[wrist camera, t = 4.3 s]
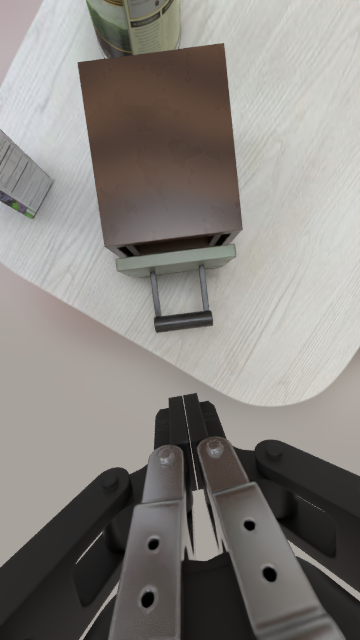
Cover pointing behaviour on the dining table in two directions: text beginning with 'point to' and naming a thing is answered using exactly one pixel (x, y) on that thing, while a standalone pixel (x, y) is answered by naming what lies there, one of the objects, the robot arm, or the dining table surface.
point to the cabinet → (162, 146)
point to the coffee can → (135, 26)
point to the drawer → (177, 263)
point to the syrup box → (20, 179)
